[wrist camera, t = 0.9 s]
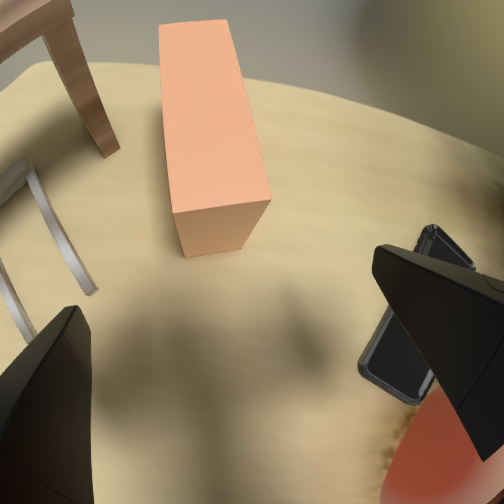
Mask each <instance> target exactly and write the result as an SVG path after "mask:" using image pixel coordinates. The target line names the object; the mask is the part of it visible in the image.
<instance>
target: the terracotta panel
mask: <svg viewBox="0 0 504 504" xmlns="http://www.w3.org/2000/svg"><path fill="white" fill-rule="evenodd" d="M159 52H160V78H161V96H162V111H163V125H164V137H165V148H166V158H167V168H168V178H169V186H170V195H171V203H172V211H173V216H174V220H175V224H176V227H177V231H178V235H179V238H180V242H181V245H182V249H183V252H184V256H185V258H189V257H195V256H201V255H207V254H213V253H219V252H225V251H231V250H237V249H241V248H242V247H243V245H244V243H245V242H246V240H247V238H248V237H249V235H250V234H251V232H252V230H253V229H254V227H255V225H256V224H257V222H258V221H259V219H260V217H261V216H262V214H263V213H264V211H265V209H266V208H267V206H268V204H269V203H270V201H271V200H272V198H271V194H270V190H269V185H268V181H267V177H266V172H265V168H264V164H263V160H262V155H261V151H260V147H259V143H258V139H257V135H256V130H255V126H254V122H253V118H252V114H251V110H250V106H249V102H248V98H247V94H246V90H245V87H244V83H243V79H242V75H241V71H240V67H239V64H238V60H237V56H236V52H235V49H234V45H233V41H232V37H231V34H230V30H229V27H228V23H227V20H206V21H192V22H181V23H172V24H165V25H159Z"/></svg>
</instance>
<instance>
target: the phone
mask: <svg viewBox="0 0 504 504" xmlns="http://www.w3.org/2000/svg"><path fill="white" fill-rule="evenodd" d="M414 252H416V253H419V254H422V255H425V256H428V257H432V258H435V259H438V260H441V261H444V262H447V263H451V264H454V265H457V266H460V267H463V268H466V269H469V270H472V271H475V272H476V268H475V264H474V262H473V261H472V260H471V259H470V258H469V257H468V256H467V254H466V253H465V252H464V251H463V250H462V249H461V248H460V247H459V246H458V245H457V244H456V243H455V242H454V241H453V240H452V239H451V238H450V237H449V236H448V235H447V234H446V233H445V232H444V231H443V230H442V229H441V228H440V227H439V226H438V225H436V224H431V225H429V226H426V227H425V228H424V229H423V231H422V233H421V236H420V238H419V241H418V243H417V246H416V247H415V250H414ZM358 370H359V372H360V374H361V375H362V376H363V377H364V378H366V379H367V380H369V381H371V382H372V383H374V384H375V385H377V386H379V387H380V388H382V389H383V390H385V391H387V392H388V393H390V394H392V395H393V396H395V397H396V398H398V399H400V400H401V401H403V402H405V403H407V404H410V405H413V406H414V405H418V404H420V403H421V402H422V401H423V399H424V398H425V396H426V394H427V392H428V391H429V389H430V387H431V385H432V383H433V381H434V379H435V376H434V374H433V372H432V371H431V369H430V367H429V366H428V364H427V363H426V361H425V360H424V358H423V356H422V355H421V353H420V352H419V350H418V349H417V347H416V345H415V344H414V342H413V341H412V339H411V338H410V336H409V335H408V333H407V332H406V330H405V329H404V327H403V326H402V324H401V323H400V321H399V320H398V318H397V317H396V315H395V314H394V312H393V310H392V309H391V307H390V305H389V306H388V308H387V310H386V312H385V314H384V316H383V318H382V320H381V321H380V323H379V325H378V327H377V329H376V331H375V333H374V334H373V336H372V338H371V340H370V342H369V343H368V345H367V347H366V349H365V350H364V352H363V354H362V356H361V357H360V360H359V363H358Z"/></svg>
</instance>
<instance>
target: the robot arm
mask: <svg viewBox="0 0 504 504" xmlns="http://www.w3.org/2000/svg"><path fill="white" fill-rule="evenodd" d="M372 274H373V277H374V278H375V280H376V282H377V284H378V285H379V287H380V289H381V291H382V293H383V294H384V296H385V298H386V300H387V302H388V303H389V305H390V307H391V309H392V310H393V312H394V314H395V315H396V317H397V318H398V320H399V321H400V323H401V324H402V326H403V327H404V329H405V330H406V332H407V333H408V335H409V336H410V338H411V339H412V341H413V342H414V344H415V345H416V347H417V349H418V350H419V352H420V353H421V355H422V356H423V358H424V360H425V361H426V363H427V364H428V366H429V367H430V369H431V371H432V372H433V374H434V376H435V377H436V379H437V381H438V382H439V384H440V386H441V387H442V389H443V391H444V392H445V394H446V396H447V397H448V399H449V401H450V403H451V404H452V406H453V408H454V409H455V411H456V413H457V415H458V417H459V419H460V421H461V422H462V424H463V426H464V428H465V430H466V432H467V433H468V435H469V437H470V439H471V441H472V443H473V445H474V447H475V449H476V451H477V452H478V455H479V456H480V458H481V460H482V461H483V462H484V461H485V460H487V459H488V458H489V457H490V456H491V455H492V454H494V453H495V452H496V451H497V450H498V449H499V448H500V447H502V445H504V281H502V280H499V279H496V278H493V277H490V276H487V275H484V274H480V273H478V272H475V271H472V270H469V269H466V268H463V267H460V266H457V265H454V264H451V263H447V262H444V261H441V260H438V259H435V258H432V257H428V256H425V255H422V254H419V253H416V252H412V251H409V250H406V249H402V248H399V247H396V246H392V245H389V244H384V245H380V246H377V247H376V248H375V251H374V257H373V263H372ZM91 392H92V366H91V332H90V328H89V326H88V323H87V321H86V319H85V317H84V315H83V313H82V311H81V309H80V307H79V306H77V305H73V306H67V307H65V308H64V309H63V310H62V311H61V312H60V313H59V314H58V315H57V316H56V317H55V318H54V319H53V320H52V321H51V322H50V323H49V324H48V325H47V326H46V327H45V328H44V329H43V330H42V331H41V332H40V333H39V334H38V335H37V336H36V337H35V338H34V339H33V340H32V341H31V342H30V343H29V345H28V346H27V347H26V348H25V349H24V350H23V351H22V352H21V353H20V354H19V355H18V356H17V358H16V359H15V360H14V361H13V362H12V363H11V364H10V365H9V366H8V368H7V369H6V370H5V371H4V372H3V373H2V374H1V376H0V504H94V495H93V482H92V466H91ZM487 504H504V489H503V490H502V491H500V492H499V493H498V494H497V495H496V496H495V497H494V498H493V499H492V500H491V501H490V502H488V503H487Z"/></svg>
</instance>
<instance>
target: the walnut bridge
mask: <svg viewBox="0 0 504 504" xmlns="http://www.w3.org/2000/svg"><path fill="white" fill-rule="evenodd" d="M74 16H75V15H74V12H73V8H72V5H71V1H70V0H0V64H1V63H2V62H3V61H5V60H6V59H7V58H9V57H10V56H11V55H13V54H14V53H16V52H17V51H18V50H20V49H21V48H23V47H24V46H26V45H27V44H29V43H30V42H32V41H33V40H35V39H36V38H38V37H39V36H42V38H43V40H44V43H45V45H46V47H47V50H48V52H49V54H50V56H51V58H52V61H53V63H54V65H55V67H56V69H57V71H58V74H59V76H60V78H61V80H62V82H63V84H64V86H65V88H66V90H67V92H68V94H69V96H70V98H71V100H72V102H73V104H74V106H75V108H76V110H77V112H78V114H79V116H80V118H81V120H82V121H83V123H84V125H85V127H86V128H87V130H88V132H89V134H90V135H91V137H92V138H93V140H94V142H95V143H96V145H97V147H98V148H99V150H100V152H101V153H102V155H103V156H104V158H106V157H107V156H109V155H110V154H112V153H113V152H115V151H116V150H118V149H119V148H120V146H119V144H118V141H117V139H116V137H115V134H114V132H113V129H112V127H111V125H110V122H109V120H108V117H107V115H106V112H105V110H104V107H103V105H102V102H101V100H100V97H99V94H98V92H97V89H96V86H95V84H94V81H93V78H92V76H91V73H90V70H89V67H88V65H87V62H86V59H85V56H84V54H83V50H82V48H81V45H80V42H79V39H78V36H77V32H76V29H75V26H74V23H73V20H72V17H74ZM27 182H28V184H29V186H30V189H31V191H32V193H33V196H34V198H35V200H36V202H37V205H38V207H39V209H40V211H41V213H42V216H43V218H44V220H45V222H46V224H47V226H48V228H49V230H50V232H51V234H52V236H53V238H54V240H55V242H56V244H57V246H58V248H59V249H60V251H61V253H62V255H63V257H64V259H65V261H66V262H67V264H68V266H69V268H70V269H71V271H72V273H73V275H74V276H75V278H76V280H77V282H78V283H79V285H80V287H81V288H82V290H83V292H84V293H85V295H88V296H91V295H92V294H93V293H95V292H96V291H97V290H99V289H98V288H97V286H96V285H95V283H94V281H93V280H92V278H91V276H90V275H89V273H88V272H87V270H86V268H85V266H84V265H83V263H82V261H81V260H80V258H79V256H78V254H77V253H76V251H75V249H74V247H73V246H72V244H71V242H70V240H69V238H68V236H67V235H66V233H65V231H64V229H63V227H62V225H61V223H60V221H59V219H58V217H57V215H56V213H55V211H54V209H53V207H52V205H51V203H50V201H49V199H48V197H47V195H46V193H45V191H44V188H43V186H42V184H41V182H40V180H39V177H38V175H37V173H36V170H35V168H34V166H33V165H32V164H31V163H30V162H29V161H28V160H27V159H26V158H25V157H24V156H23V157H22V158H21V159H19V160H18V161H17V162H16V163H15V164H14V165H12V166H11V167H10V168H9V169H8V170H7V171H6V172H5V173H3V174H2V175H1V176H0V207H1V206H2V205H3V204H4V203H5V202H6V201H7V200H8V199H9V198H10V197H11V196H12V195H14V194H15V193H16V192H17V191H18V190H19V189H20V188H21V187H23V186H24V185H25V184H26V183H27ZM0 292H1V294H2V296H3V298H4V300H5V303H6V305H7V307H8V309H9V311H10V313H11V315H12V317H13V319H14V321H15V323H16V325H17V327H18V329H19V330H20V332H21V334H22V336H23V338H24V340H25V341H26V343H27V344H29V343H30V342H31V341H32V340H33V339H34V338H35V337H36V336H37V335H38V334H37V332H36V331H35V329H34V327H33V325H32V323H31V322H30V320H29V318H28V316H27V314H26V312H25V310H24V308H23V306H22V305H21V303H20V301H19V299H18V296H17V294H16V292H15V290H14V288H13V286H12V284H11V282H10V279H9V277H8V275H7V273H6V270H5V268H4V266H3V263H2V261H1V258H0Z"/></svg>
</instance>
